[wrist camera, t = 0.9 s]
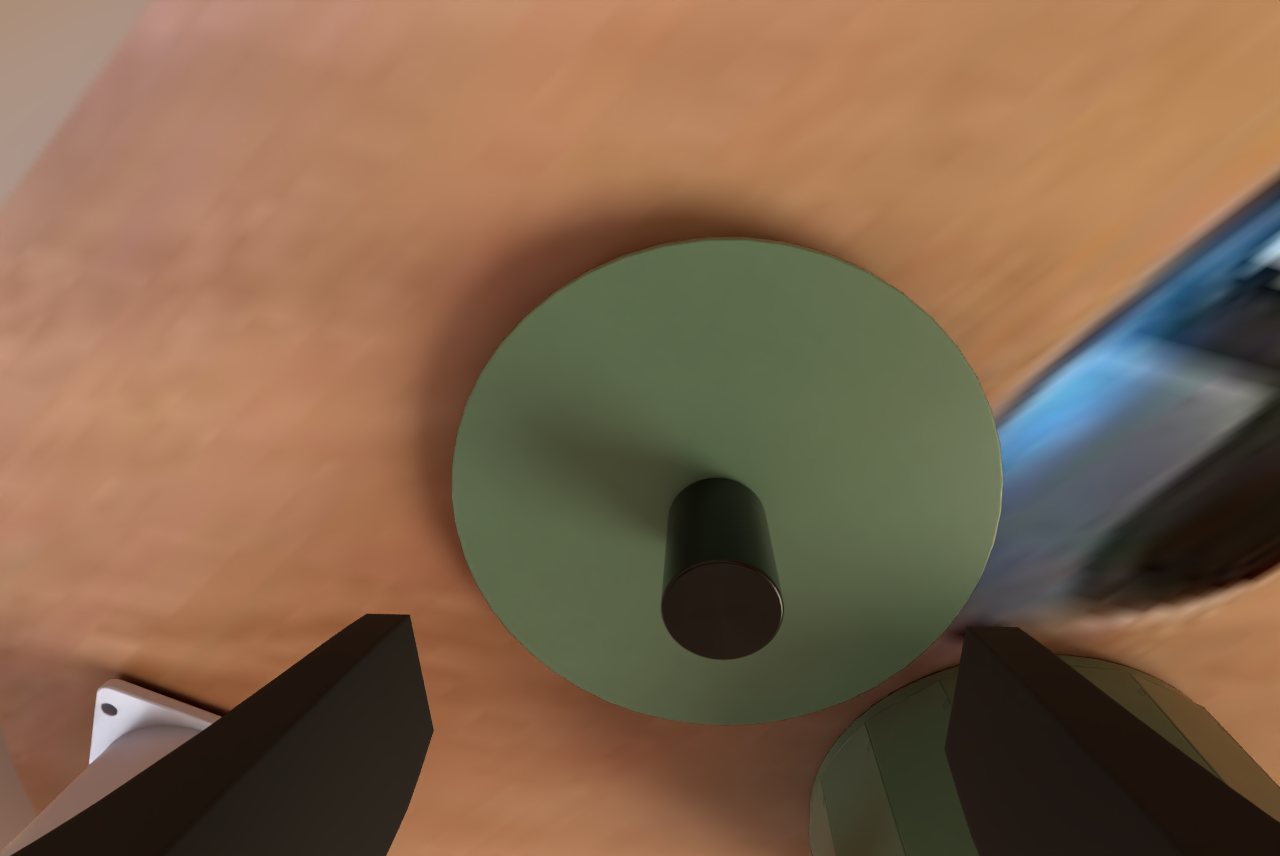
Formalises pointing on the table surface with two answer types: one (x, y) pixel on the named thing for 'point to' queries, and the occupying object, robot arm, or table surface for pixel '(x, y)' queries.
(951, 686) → the pot
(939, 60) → the table surface
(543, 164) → the table surface
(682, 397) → the lid
